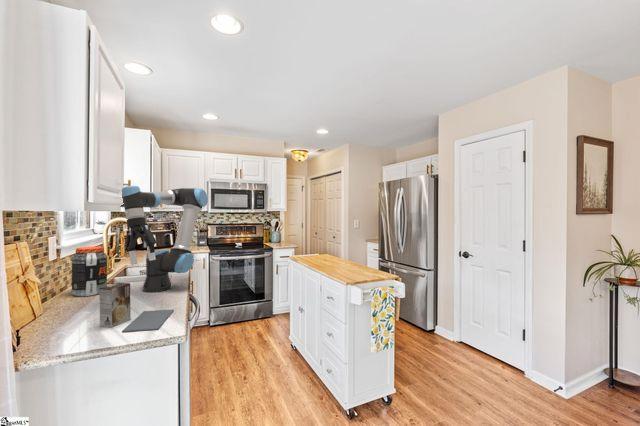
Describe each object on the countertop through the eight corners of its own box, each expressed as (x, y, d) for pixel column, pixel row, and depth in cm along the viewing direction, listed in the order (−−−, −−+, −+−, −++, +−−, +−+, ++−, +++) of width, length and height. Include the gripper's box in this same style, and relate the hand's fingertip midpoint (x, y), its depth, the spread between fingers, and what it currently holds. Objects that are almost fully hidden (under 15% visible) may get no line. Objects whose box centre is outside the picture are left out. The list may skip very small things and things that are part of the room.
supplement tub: (102, 295, 158) (102, 248, 158) (66, 298, 153) (66, 250, 152) (110, 288, 173) (110, 245, 173) (78, 290, 167) (78, 246, 167)
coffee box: (118, 318, 127) (118, 282, 127) (131, 319, 126) (131, 283, 126) (99, 326, 118) (99, 287, 118) (112, 327, 117) (112, 288, 117)
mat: (143, 312, 134) (143, 311, 134) (173, 310, 137) (173, 309, 137) (122, 332, 113) (122, 330, 113) (158, 329, 116) (158, 328, 116)
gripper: (111, 224, 138) (119, 267, 137) (144, 212, 128) (152, 259, 126) (127, 223, 145) (134, 264, 144) (160, 212, 135) (167, 256, 133)
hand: (143, 262), depth 135 cm, fingers open, 13 cm apart
